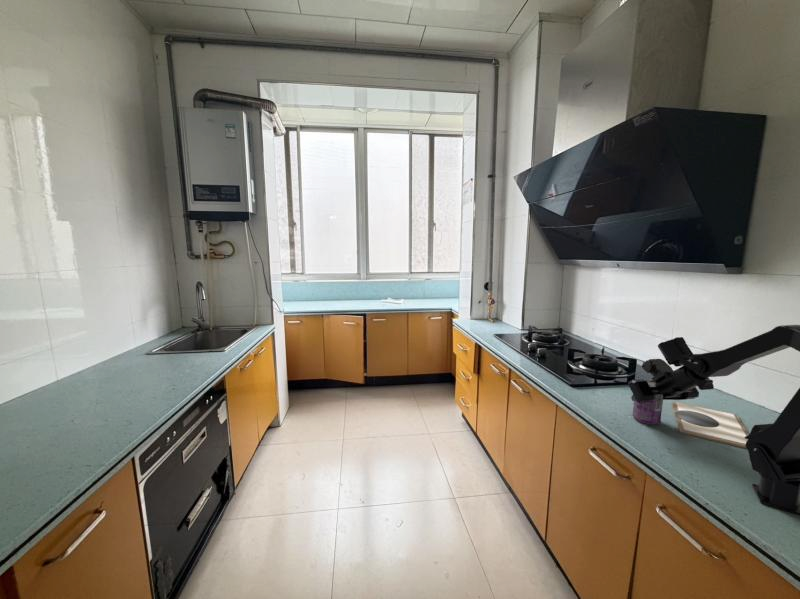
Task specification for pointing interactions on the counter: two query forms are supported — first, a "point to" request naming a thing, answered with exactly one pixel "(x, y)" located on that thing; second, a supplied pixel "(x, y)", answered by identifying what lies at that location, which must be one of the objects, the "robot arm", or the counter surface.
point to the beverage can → (649, 409)
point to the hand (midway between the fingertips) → (644, 398)
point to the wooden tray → (710, 424)
